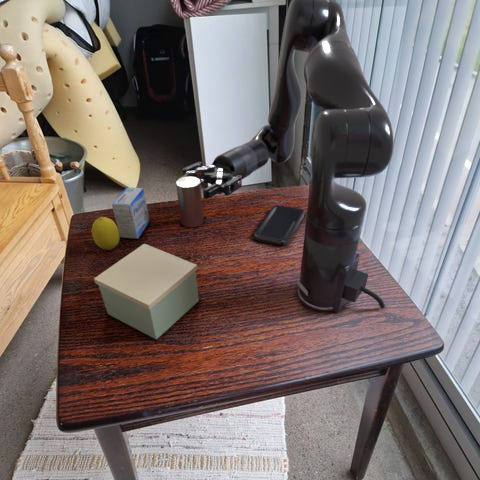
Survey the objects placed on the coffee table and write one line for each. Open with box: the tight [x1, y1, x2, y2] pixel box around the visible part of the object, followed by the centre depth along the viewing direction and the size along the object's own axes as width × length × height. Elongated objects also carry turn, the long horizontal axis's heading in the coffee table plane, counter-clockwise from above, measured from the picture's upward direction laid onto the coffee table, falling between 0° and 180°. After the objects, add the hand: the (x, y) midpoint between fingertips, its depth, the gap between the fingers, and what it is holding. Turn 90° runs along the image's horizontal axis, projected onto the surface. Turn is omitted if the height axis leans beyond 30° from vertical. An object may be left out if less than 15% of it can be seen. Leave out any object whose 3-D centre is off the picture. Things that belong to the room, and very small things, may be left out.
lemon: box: [91, 216, 121, 251], centre depth 90 cm, size 6×6×8 cm
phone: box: [253, 204, 305, 247], centre depth 98 cm, size 8×1×15 cm
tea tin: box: [175, 176, 204, 228], centre depth 97 cm, size 5×5×10 cm
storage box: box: [93, 243, 200, 340], centre depth 76 cm, size 13×13×8 cm
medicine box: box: [111, 186, 151, 240], centre depth 95 cm, size 8×4×9 cm, turn 168°
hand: (190, 189), depth 95 cm, fingers open, 8 cm apart
